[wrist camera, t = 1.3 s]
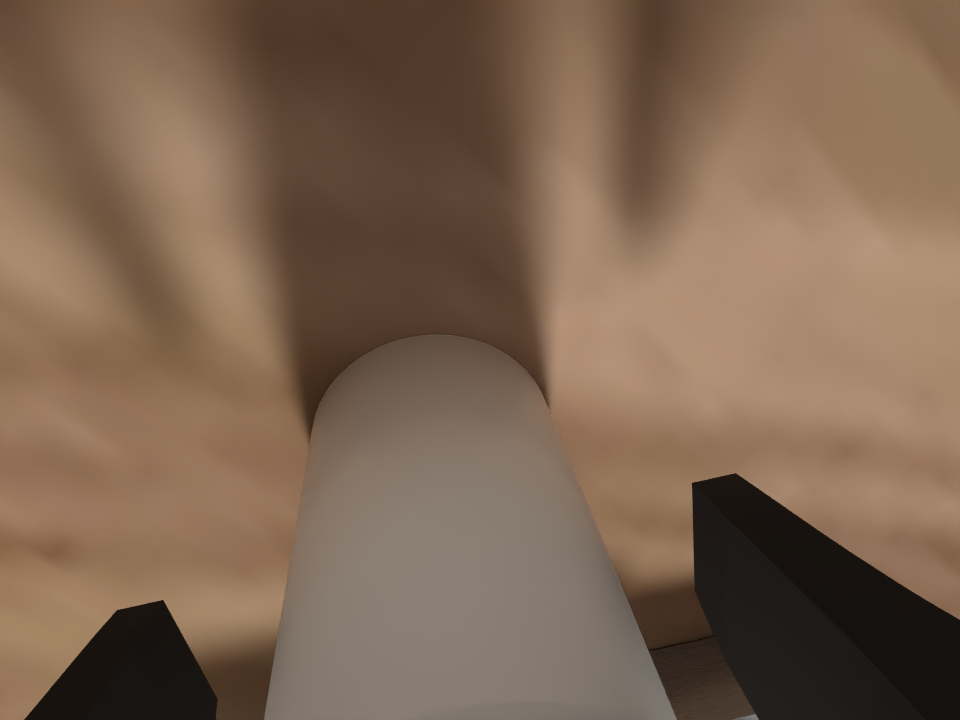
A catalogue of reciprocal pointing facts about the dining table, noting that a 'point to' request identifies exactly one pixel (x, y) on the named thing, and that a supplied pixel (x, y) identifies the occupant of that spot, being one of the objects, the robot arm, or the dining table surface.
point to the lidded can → (450, 556)
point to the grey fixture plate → (700, 682)
